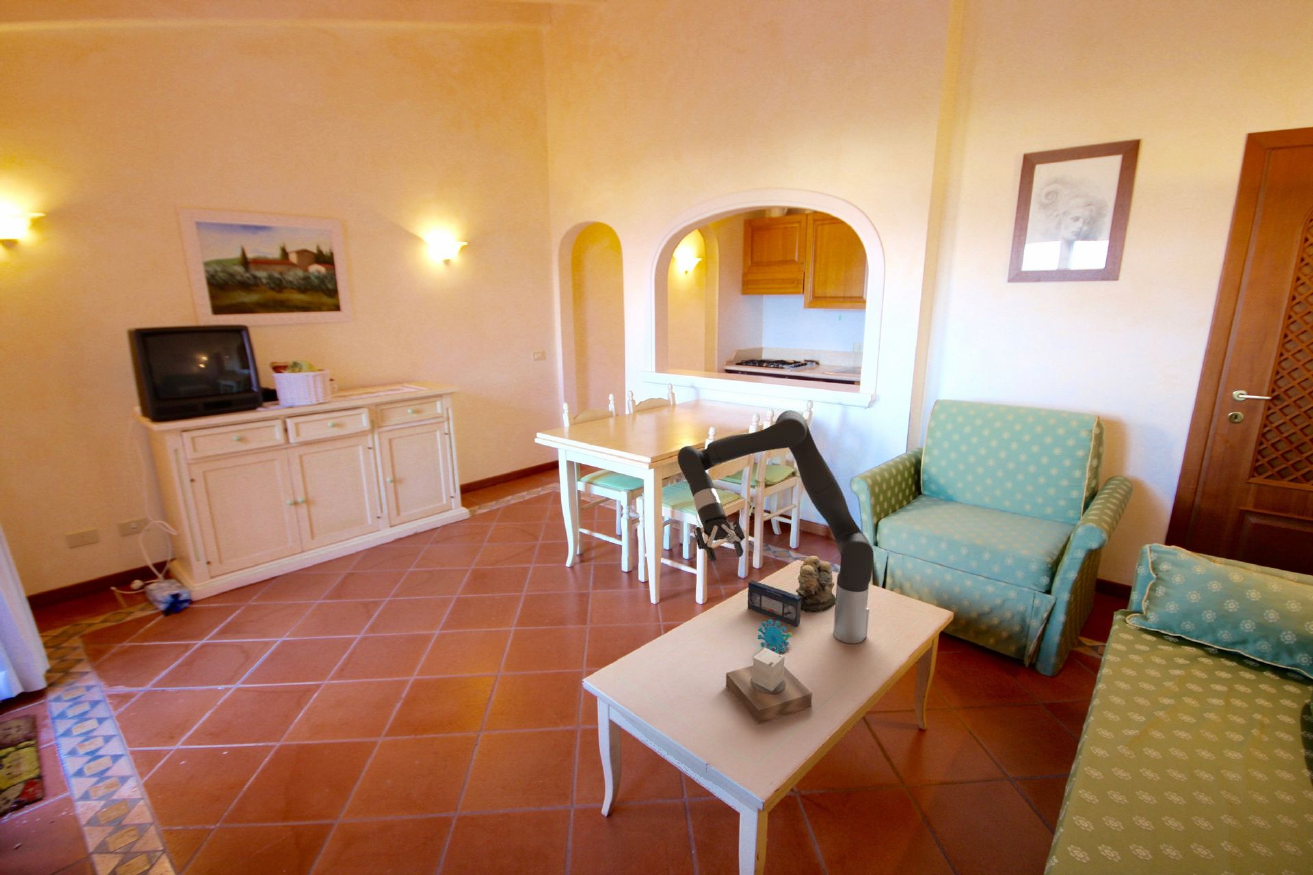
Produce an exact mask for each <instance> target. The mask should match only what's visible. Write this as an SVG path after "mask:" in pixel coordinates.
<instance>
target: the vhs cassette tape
mask: <svg viewBox="0 0 1313 875" xmlns="http://www.w3.org/2000/svg"><path fill="white" fill-rule="evenodd" d="M747 588H748V589H747V610H750V611H752V612H755V613H757V614H760V615H763V616H766V617H768V618H770V619H772V620H775V621H779V622H780V623H784V624H786V625H789V626H792V627H795V628H797V627H798V626H800V624H801V611H802V610H801V603H800V602H801V596H797V595H798V594H795V593H792V592H788V591H786V590H783V589H780V588H775V587H774V586H770V585H767V584H765V583H762V582H759V581H756V580H752V579H751V580H749V581H748V583H747Z"/></svg>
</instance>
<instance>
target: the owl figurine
mask: <svg viewBox="0 0 1313 875" xmlns="http://www.w3.org/2000/svg"><path fill="white" fill-rule="evenodd" d="M820 561H821V560H820V558H819V557H818V556H816V555H809V556H807V557H806V558H805V559H804V561H803V562H802V563H801V565H800V569H799V575H798V577H797V580H798V584H799V587H798V588H797V589H795V592H796V593H797V594H796V595H797V596H801V602H800V603H801V611H803V612H805V613H818V612H823V611H827V610H829V609H831V608H832V607H833V606H834V605H835V601H836V595H835V594H834V593H833V589H834V586H835V582H834V581H833V579H834V578H833V570H832V565H831V564H830V562H828V561H821V562H820Z"/></svg>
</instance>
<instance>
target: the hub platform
mask: <svg viewBox="0 0 1313 875" xmlns="http://www.w3.org/2000/svg"><path fill="white" fill-rule="evenodd" d="M752 676H753V665H750V666H746V667H742V668H739V669H735V670H732V671H729V672H726V674H725V679H726V680H725V686H726V688H727V690H729V691H730V693H731V694H732V695H733V696H734V697H735V699H736V700H737V701H738V702H739V703H740V704H741V706H742V707H743V708H744V709H745V711H746V712H747V713H748V714H749V715H750V717H752V719H753V720H754V721H755V723H756V724H758V725H760V724H763V723H766V722H769V721H772V720H776V719H778V718H782V717H784V716H788V715H790V714H793V713H797V712H800V711H803V710H806V709H808V708H811V707H812V700H813V692H811V690H809V689H808V688H807V687H806V686H805V684H803V683H802V682H801V681H800V680H799V679H798V678H797V677H796V676H795V675H794V674H793V673H792V672H791V671H790V670H789V669H787V667H785V666H784V678H783V681H782V682H781V683H780V684H779V685H778V686H777V687H776V688H775V689H774V690H773V691H770V690H768V689H766V688H764V687H762V686H760V685H758V684H756V683H754V682H753V681H752Z"/></svg>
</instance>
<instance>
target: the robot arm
mask: <svg viewBox="0 0 1313 875" xmlns="http://www.w3.org/2000/svg"><path fill="white" fill-rule="evenodd" d="M780 449H789V451H790V452H791V454H792V456H793V458H794V460H795V463H796V466H797V470H798V473H799V475H800V479H801V482H802V485H803V487H804V490H805V492H806V494H807V495H808V497H809V500H810V501H811V503H812V504H813V506H814V508H815V509H816V511H817V512H818V513H819V514H820V515H821V517H822V518H823V519H824V521H825V523H827V525H828V526H829V528H830V531H831V533H832V535H833V538H834V540H835V544H836V548H837V550H838V553H839V555H840V563H839V572H838V574H837V576H836V588H835V598H836V601H835V604H834V605H835V606H834V614H833V615H834V616H833V618H834V619H833V631H832V632H833V634H832V635H833V636H834V637H835V638H836V639H837V640H838V641H840V642H842V643H845V644H855V645H856V644H860V643H862V642H863V641H864V640H865V639H866V638H867V637H868V631H869V630H868V628H869V627H868V626H869V618H870V616H869V615H870V608H868V598H869V586H870V583H871V581H872V574H873V567H874V558H875V557H874V556H875V555H874V549H873V547H872V545H871V543H870V542H869V540H868V538H867V537H866V535H865V534H864V533H863V531H862V530H861V529H860V527H859V525H858V524H857V523H856V521H855V519H854V518H853V517H852V516H853V515H852V514H851V512H850V510H849V508H848V504H847V501H846V498H845V496H844V493H843V491H842V488H841V486H840V485H839V483H838V480H837V478H836V477H835V475H834V473H833V471H832V470H831V469H830V467H829V465H828V464H827V462H826V460H825V459H824V457H823V455H822V454H821V452H820V450H819V449H818V446H817V445H816V443H815V440H814V438H813V436H812V434H811V431H810V428H809V426H808V423H807V420H806V418H805V417H804V416H803V414H801V413H800V412H798V411H796V410H793V409H792V410H791V409H790V410H785V411H783V412H782V413H780V414H779V415H778V417H777V419H776V420H775V423H774V424H772V425H770V426H768V427H766V428H763V429H761V430H757V431H755V432H748V433H740V434H733V435H729V436H726V437H723V438H720V439H719V438H718V439H715V440H713V441H711V442H709V443H708V444H707V446H706V448H705V449H702V450H698V449H697V448H696V447H694V446H691V445H686V446H685V445H684V446H683V447H681V448H680V449H679V451H678V453H677V462H678V466H679V468H680V471H681V472H682V475H683V476H684V478H685V480H686V481H687V483H688V485H689V489H690V493H691V494H692V498H693V503H694V507H695V509H696V512H697V515H698V518H699V520H700V523H701V526H702V527H700V526H696V528H694V530H693V534H694V537H695V541H696V545H697V548H698V549H699V550H705V552H706V554H707V558H708V560H709V561H710V562H711V563H715V562H716V561H717V556H716V553H715V550H714V548H713V546H712V545H713V541H714V542H717V541H719V540H726V541H730V542H731V544H733V548H734V550H735V553H736V556H737V557H738V558H740V557H742V556H743V555H744V549H743V547H742V541H744V539H746V536H745V533H744V531H743V529H742V527H741V524H740V522H739V521H738V520H736V519H735V520H734V521H732V522H729V521H728V519H727V515H726V513H725V509H724V506H723V504H722V502H721V499H720V496H719V494H718V493H717V491H716V488H715V486H714V482H713V480H712V477H711V476H710V474H708V473H707V470H709V469H712V468H714V467H715V466H716V465H719V464H723V463H726V462H729V461H732V460H735V459H738V458H742V457H745V456H750V455H753V454H756V453H761V452H767V451H772V450H773V451H774V450H780ZM730 528H731V529H730ZM703 534H705V535H706V536H707V539H706V541H705V540H704V537H703V536H704V535H703Z"/></svg>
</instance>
